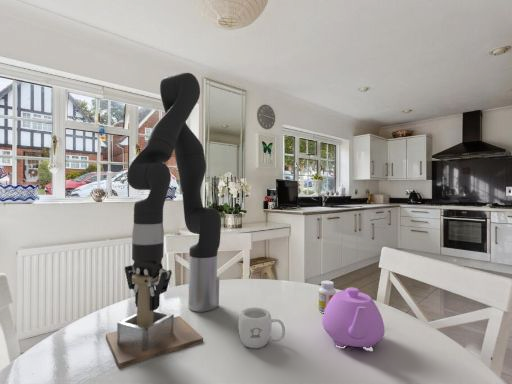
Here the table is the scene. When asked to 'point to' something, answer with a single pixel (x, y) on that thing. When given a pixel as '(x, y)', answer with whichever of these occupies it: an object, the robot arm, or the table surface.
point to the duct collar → (145, 331)
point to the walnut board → (177, 340)
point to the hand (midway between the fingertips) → (147, 307)
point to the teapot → (353, 319)
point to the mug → (257, 327)
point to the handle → (144, 300)
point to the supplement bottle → (325, 294)
